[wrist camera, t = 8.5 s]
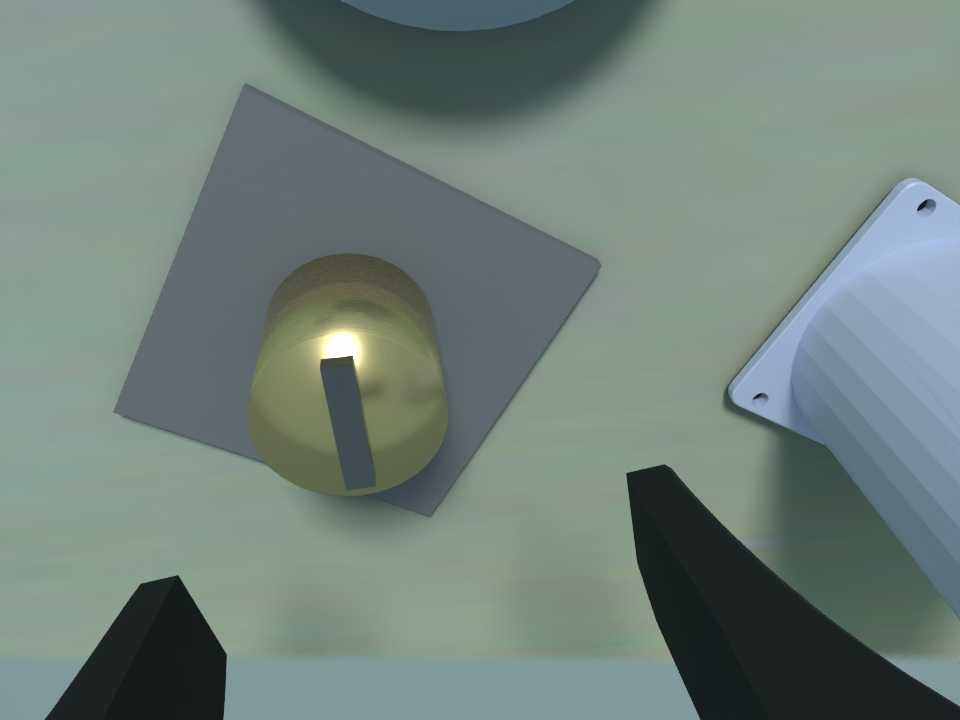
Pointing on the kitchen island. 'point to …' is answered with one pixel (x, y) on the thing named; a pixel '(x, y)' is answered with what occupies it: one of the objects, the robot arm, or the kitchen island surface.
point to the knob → (348, 378)
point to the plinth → (458, 12)
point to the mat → (338, 230)
